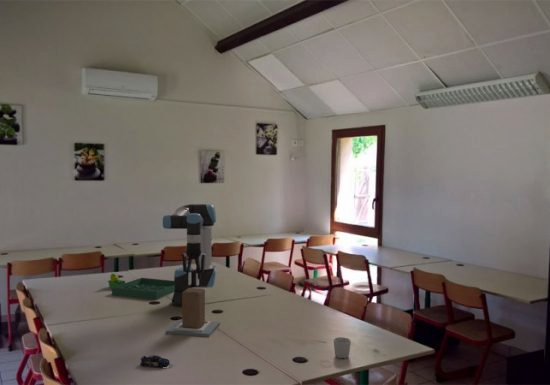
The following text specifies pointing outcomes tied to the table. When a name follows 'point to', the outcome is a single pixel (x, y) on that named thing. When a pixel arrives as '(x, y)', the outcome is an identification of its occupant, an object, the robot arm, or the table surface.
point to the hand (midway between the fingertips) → (193, 284)
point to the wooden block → (193, 308)
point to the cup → (342, 347)
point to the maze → (145, 288)
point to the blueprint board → (202, 331)
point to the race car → (154, 361)
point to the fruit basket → (115, 281)
